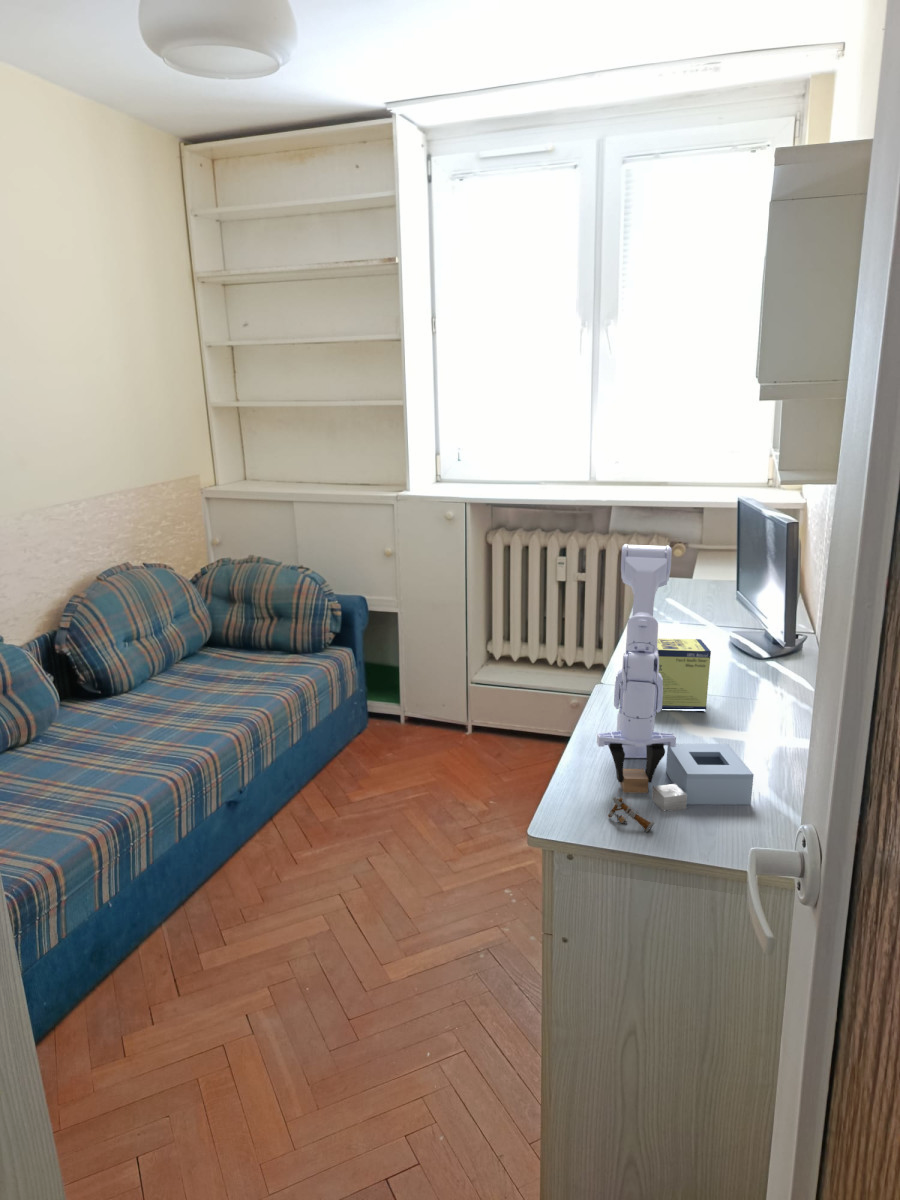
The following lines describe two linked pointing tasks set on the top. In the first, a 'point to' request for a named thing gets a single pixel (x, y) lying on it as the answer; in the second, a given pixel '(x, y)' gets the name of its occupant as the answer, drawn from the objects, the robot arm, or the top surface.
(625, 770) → the brown wooden block
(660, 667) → the protein box
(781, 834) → the top surface
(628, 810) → the wooden post with brackets
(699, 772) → the grey box with hole
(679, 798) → the white square block
